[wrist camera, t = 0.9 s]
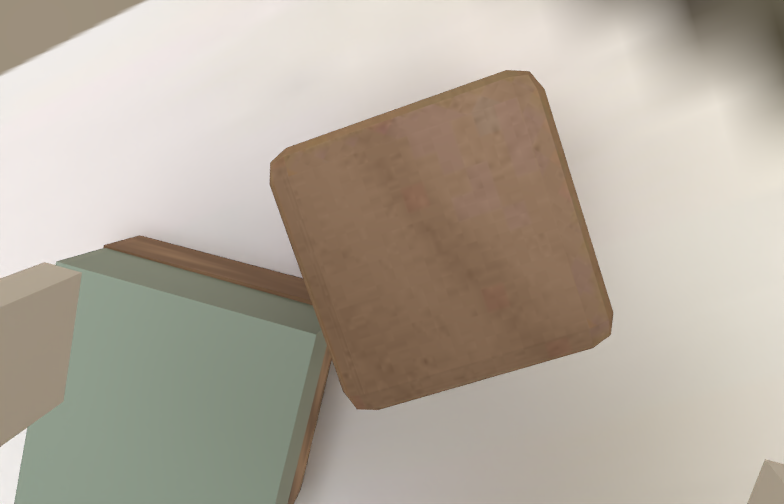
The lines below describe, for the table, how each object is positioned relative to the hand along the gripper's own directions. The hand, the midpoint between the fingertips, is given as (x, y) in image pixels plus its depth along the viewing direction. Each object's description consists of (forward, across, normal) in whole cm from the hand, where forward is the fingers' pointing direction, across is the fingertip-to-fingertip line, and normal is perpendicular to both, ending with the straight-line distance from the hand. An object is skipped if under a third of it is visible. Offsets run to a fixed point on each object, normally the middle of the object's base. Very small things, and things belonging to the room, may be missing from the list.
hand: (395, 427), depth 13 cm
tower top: (+26, +12, +14) cm, 32 cm away
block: (+31, 0, 0) cm, 31 cm away
